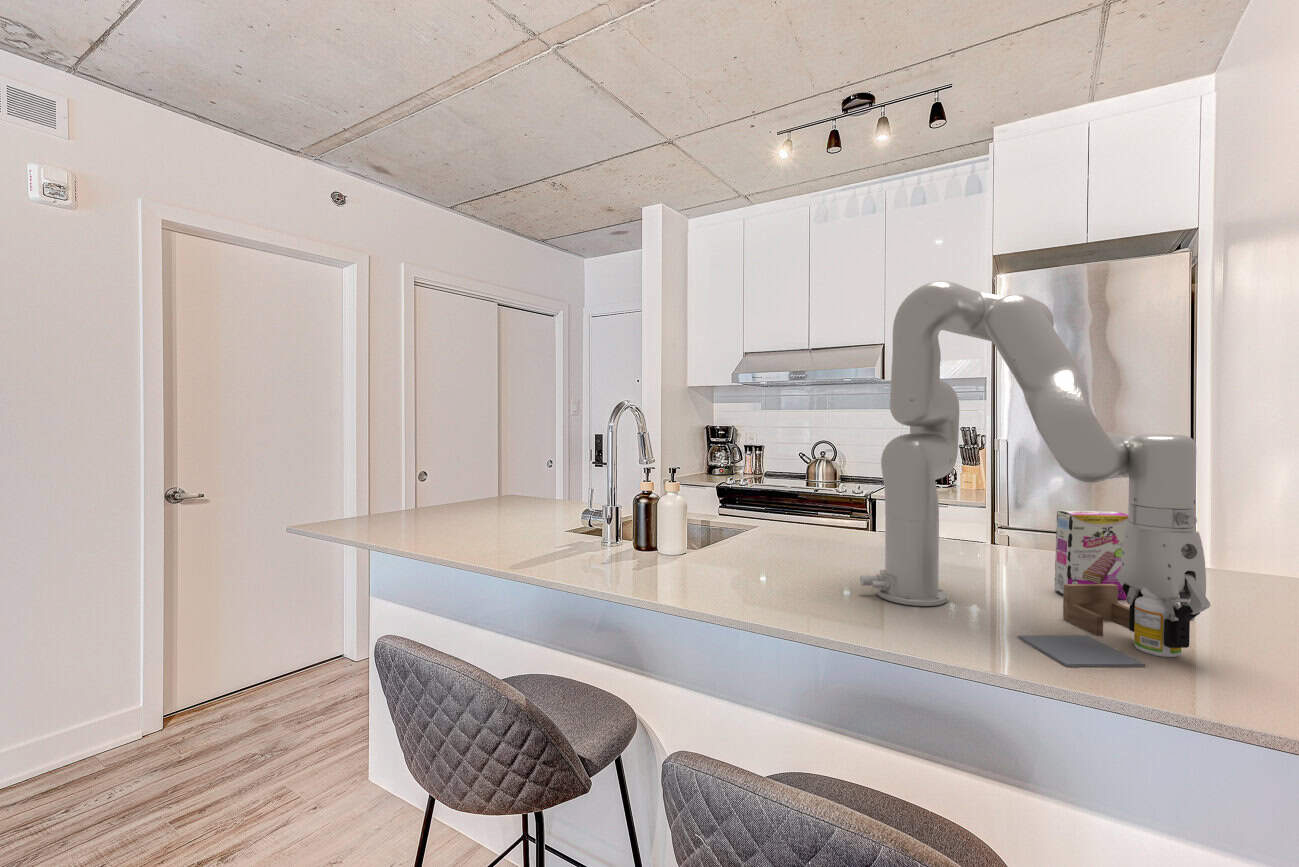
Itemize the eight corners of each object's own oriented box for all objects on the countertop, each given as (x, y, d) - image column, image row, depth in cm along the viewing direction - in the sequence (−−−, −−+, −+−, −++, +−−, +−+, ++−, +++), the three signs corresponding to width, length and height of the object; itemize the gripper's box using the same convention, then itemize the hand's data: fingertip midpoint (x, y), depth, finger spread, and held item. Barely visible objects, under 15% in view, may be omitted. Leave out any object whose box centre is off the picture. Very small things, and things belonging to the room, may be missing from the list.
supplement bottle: (1170, 646, 91) (1171, 582, 91) (1189, 660, 86) (1190, 593, 85) (1127, 642, 93) (1128, 579, 92) (1143, 655, 87) (1145, 589, 87)
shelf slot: (1096, 635, 96) (1097, 597, 95) (1063, 618, 103) (1063, 584, 103) (1150, 634, 96) (1151, 597, 95) (1112, 618, 103) (1113, 583, 103)
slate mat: (1066, 667, 84) (1066, 664, 84) (1017, 637, 95) (1018, 635, 95) (1145, 666, 84) (1145, 663, 84) (1087, 637, 95) (1087, 635, 95)
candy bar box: (1068, 599, 114) (1069, 513, 114) (1053, 591, 119) (1054, 509, 119) (1131, 601, 113) (1133, 514, 113) (1113, 593, 118) (1115, 510, 118)
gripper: (1243, 528, 80) (1240, 662, 81) (1138, 508, 97) (1136, 619, 98) (1187, 528, 80) (1184, 662, 81) (1092, 508, 97) (1090, 619, 98)
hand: (1158, 637), depth 89 cm, fingers closed on supplement bottle, 5 cm apart
